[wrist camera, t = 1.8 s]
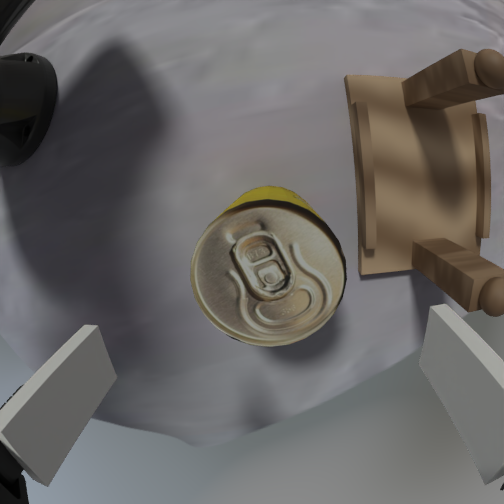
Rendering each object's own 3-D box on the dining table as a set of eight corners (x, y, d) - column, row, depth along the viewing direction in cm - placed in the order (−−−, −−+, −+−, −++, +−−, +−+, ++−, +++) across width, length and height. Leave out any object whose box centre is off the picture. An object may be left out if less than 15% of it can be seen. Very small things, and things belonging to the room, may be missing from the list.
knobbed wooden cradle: (343, 78, 24) (400, 12, 10) (467, 91, 22) (555, 68, 9) (358, 270, 29) (415, 349, 15) (473, 257, 27) (554, 308, 14)
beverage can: (254, 293, 30) (243, 366, 19) (205, 217, 28) (160, 252, 17) (333, 250, 28) (370, 304, 17) (287, 167, 27) (298, 168, 15)
